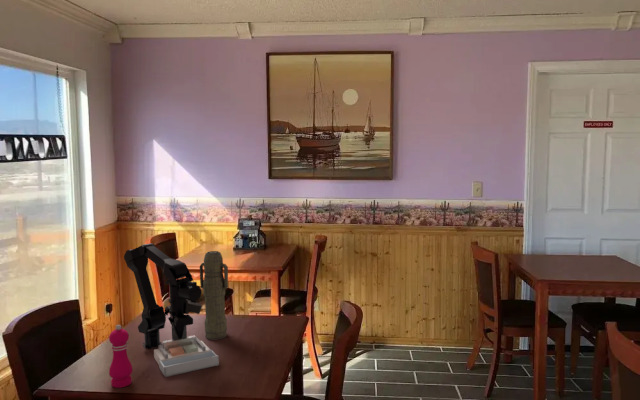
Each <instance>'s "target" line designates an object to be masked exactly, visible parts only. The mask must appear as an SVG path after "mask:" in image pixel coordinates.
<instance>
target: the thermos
mask: <svg viewBox="0 0 640 400" xmlns="http://www.w3.org/2000/svg"><path fill="white" fill-rule="evenodd" d="M223 262H224V259H223V256H222V253H221V252H220V251H218V250H214V251H213V250H210V251H207V252H206V253H205V255H204V259H203V262H201V264H200V265H199V283H200V284H199V285H200V288H201V289H202V292H203V297H204V306H205V307H204V308H205V318H204V333H205V339H207V340H212V341H213V340H214V341H216V340H222V339H225V338H226V337H227V331H228V325H227V323H228V321H227V317H226V304H225V301H226V300H225V296H226V290H227V289H228V288H229V267H228V265H227V264H226V263H223Z"/></svg>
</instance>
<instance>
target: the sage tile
mask: <svg viewBox="0 0 640 400" xmlns="http://www.w3.org/2000/svg"><path fill="white" fill-rule="evenodd" d="M182 348H183V350H184V352H185V353H191V352H195V351H198V348H197V346H196V345H195V344H192V345H187V346H182Z"/></svg>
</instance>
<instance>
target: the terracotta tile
mask: <svg viewBox="0 0 640 400" xmlns="http://www.w3.org/2000/svg"><path fill="white" fill-rule="evenodd" d="M169 353H170V355H171V356H176V355H181V354H184V350H183V348H182V347H176V348H171V349H169Z"/></svg>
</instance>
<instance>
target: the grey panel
mask: <svg viewBox="0 0 640 400" xmlns="http://www.w3.org/2000/svg"><path fill="white" fill-rule="evenodd" d="M187 335H188V331H187V325H186V326H185V328H184V331H183V336H182V338H181V339H179V338H178V336H177V334H176V331H175V329H174V327H173V326H172V325H171V339H168V340H167V339H166V340H162V346H163V348H164V349H165V351H166V350H169V349H171V348H176V347H182V346H187V345H192V344H195V345H196V338H197V336H196V335H188V336H187Z"/></svg>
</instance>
